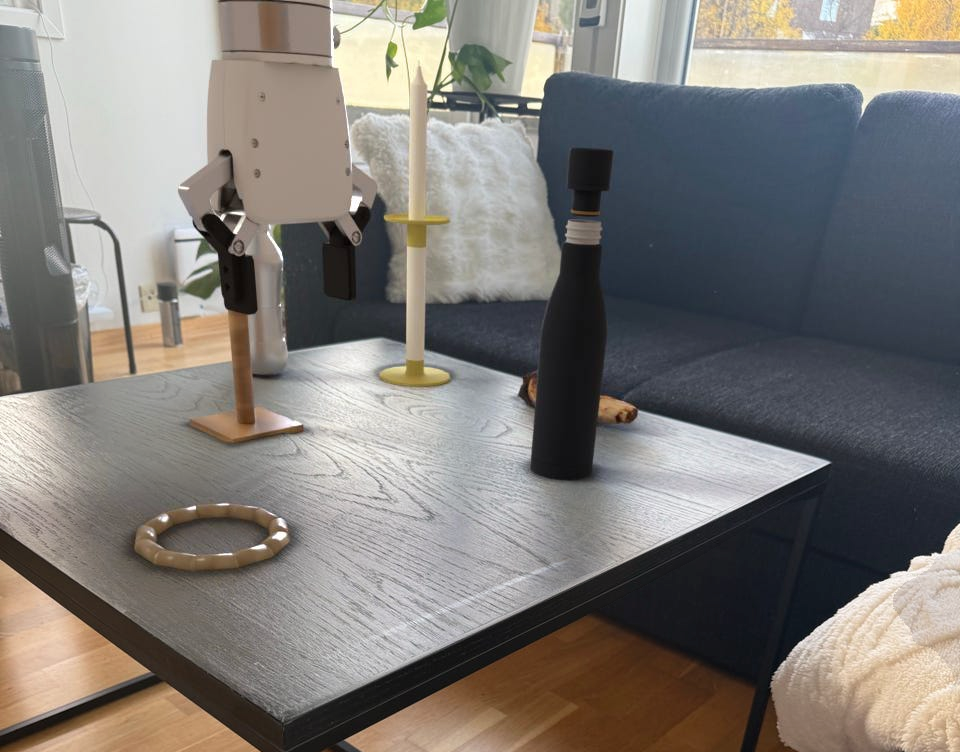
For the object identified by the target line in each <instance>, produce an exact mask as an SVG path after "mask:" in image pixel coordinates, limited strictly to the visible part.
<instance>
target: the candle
mask: <svg viewBox="0 0 960 752" xmlns="http://www.w3.org/2000/svg"><path fill="white" fill-rule="evenodd" d="M417 63H418V64H417V65H416V70H415V75H414V78H413V80H412V82H411V83H410V84H409V137H408V138H409V142H408V145H409V146H408V148H409V149H408V150H409V153H408V213H389V214H385V215H384V214H383V219H384V221H387V222H389V223H394V224H404V225H406V319H405V320H406V323H405V325H406V327H405V328H406V329H405V330H406V331H405V336H406V337H405V342H406V343H405V365H404V366H393V367H389V368H385V369H383V370H382V371H380V372H379V374H378V376H379V379H380V380H381V381H384V383H388V384H392V385H396V386H405V387H435V386H440V385H444V384H447V383H449V382H450V380H451V379H452V378H451V376H450V373H448V372H446V371H444V370H443V369H439V368H434V367H428V366H425V339H426V337H425V334H426V333H425V332H426V330H425V329H426V327H425V326H426V278H427V277H426V276H427V275H426V273H427V226H439V225H446V224H449V223H450V222H451V218H449V217H447V216H441V215H435V214H426V193H427V192H426V191H427V186H426V185H427V139H428V138H427V137H428V136H427V133H428V132H427V130H428V129H427V128H428V84H427V83H426V82H425V79H424V76H423V72H422V67H421V66H420V60H417Z"/></svg>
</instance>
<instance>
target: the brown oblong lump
mask: <svg viewBox="0 0 960 752" xmlns="http://www.w3.org/2000/svg"><path fill="white" fill-rule="evenodd" d="M537 374H538V370H535V371H532V370H531V371H530V372H528V373H527V374H525V375H522V376H521V378H522V384H520V387H519V391H518V393H517V397H519V398H520V399H521V400H522V401H523V402H524V404H525V405H526V406H529V407H535V400H536V387H537ZM638 413H639V410H638V408H637V407H636V406H634V405H633V404H631V403H628V402H625V401H622V400H619V399H617V398H614V397H612V396H608V395H600V403H599V412H598V421H597V424H598V423H599V424H606V425H620V424H622V423H623V424H625V425H627V424H631V423H633V422H634V421H635V420H636V419H637V418H638Z"/></svg>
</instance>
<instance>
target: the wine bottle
mask: <svg viewBox="0 0 960 752" xmlns="http://www.w3.org/2000/svg"><path fill="white" fill-rule="evenodd" d="M613 159H614V150H613V149H607V148H593V147H592V148H591V147H570V148H569V150H568V161H567V163H568V164H567V175H566V189H568V190H573V192H572V193H573V194H572V203H571V205H572V206H571V209H570V213H571V215H572V216H578V217H588V218H589V217H590V218H592V217H593V218H595V217H596V218H597V217H599V216H600V215H601V211H600V209H601V199H602V192H609V191H610V188H611V187H610V184H611V177H612V169H613V168H612V167H613ZM565 228H566V233H565V234H564V237H565V238H566V240H564V241H563V242H562V243H561V250H560V251H561V252H560V262H559V263H560V265H559V272H558V276H557V278H556V281H555V283H554V286H553V288H552V291H551V293H550V296H549V299H548V301H547V305H546V308H545V311H544V314H543V319H542V324H541V327H540V337H539V350H538V362H537V371H538V374H537V387H536V400H535V406H534V413H533V427H532V437H531V438H532V439H531V440H532V441H531V452H530V453H531V454H530V466H529V467H530V471H531V472H532V473H533V474H535V475H537V476H540V477H543V478H546V479H551V480H558V481H578V480H582V479H586V478H588V477H590V476H591V474H592V472H593V463H594V455H595V446H596V440H597V439H596V437H597V430H598V423H597V421H598V412H599V403H600V395H601V393H602V384H603V376H604V367H605V359H606V351H607V350H606V348H607V340H608V320H607V319H608V318H607V309H606V301H605V295H604V292H603V286H602V281H601V277H600V274H601V267H602V256H603V244H601V243H600V240H601V239H602V236H601V231H603V227H602V222H601V221H598V220H591V219H568V220H567V224H566V225H565Z"/></svg>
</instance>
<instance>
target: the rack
mask: <svg viewBox="0 0 960 752" xmlns="http://www.w3.org/2000/svg"><path fill="white" fill-rule="evenodd" d="M227 317H228V328H229V330H228V331H229V341H230V352H231V364H232V365H231V366H232V375H233V376H232V377H233V387H234V388H233V389H234V399H235V410H231V411H225V412H219V413H215V414H209V415H205V416H199V417H193V418H190V419H189V425H190V426H191V427H193V428H195V429H197V430H200V431H202V432H204V433H206V434H208V435H211V436H212V437H214V438H217V439H219V440H221V441H223V442H225V443H232V444H237V443H241V442H245V441H249V440H255V439H259V438H264V437H269V436H274V435H279V434H282V433H284V434H285V433H287V434H295V433H299V432H303V431H304V424H303V423H301V422H299V421H296V420H293V419H292V418H288V417H286V416H284V415H281V414H279V413H276V412H274V411H271V410H269V409H267V408H265V407H261V406H259V405H258V406H255V393H254V380H253V378H254V377H253V373H252V365H251V352H250V339H249V325H248V315H246V314H242V313H238V312H234V311H230V310H227Z"/></svg>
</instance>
